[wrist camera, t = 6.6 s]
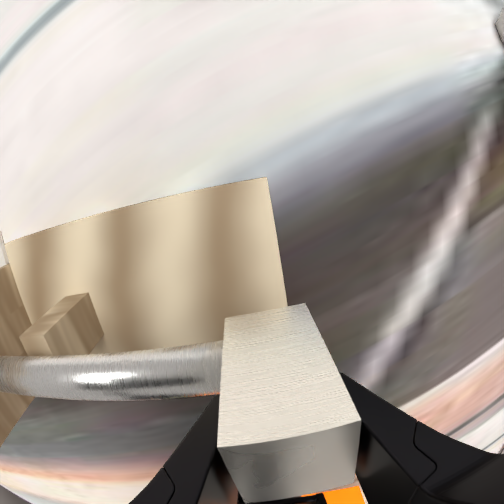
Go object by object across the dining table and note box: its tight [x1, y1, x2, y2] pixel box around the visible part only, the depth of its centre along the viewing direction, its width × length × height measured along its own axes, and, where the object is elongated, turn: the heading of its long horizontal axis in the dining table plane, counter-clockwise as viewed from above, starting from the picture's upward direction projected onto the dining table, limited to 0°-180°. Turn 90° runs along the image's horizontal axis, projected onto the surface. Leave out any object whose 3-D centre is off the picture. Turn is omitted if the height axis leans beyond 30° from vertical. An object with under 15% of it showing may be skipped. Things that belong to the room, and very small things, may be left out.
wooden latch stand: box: [0, 177, 288, 447], centre depth 13 cm, size 29×14×12 cm, turn 100°
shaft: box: [0, 303, 361, 503], centre depth 8 cm, size 21×3×6 cm, turn 100°
